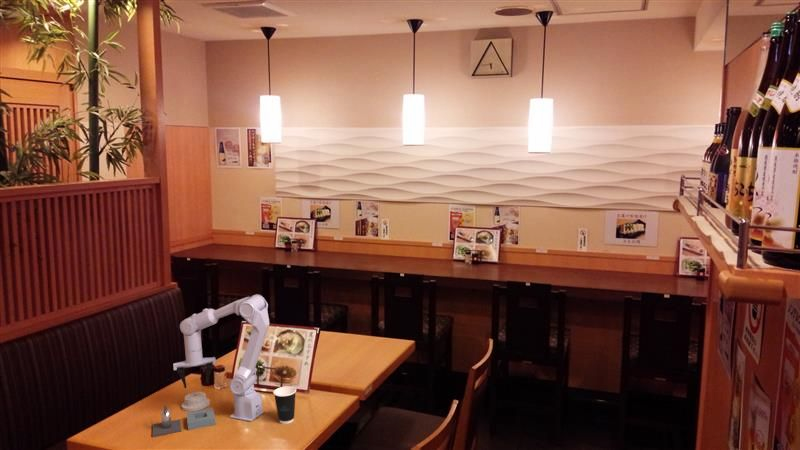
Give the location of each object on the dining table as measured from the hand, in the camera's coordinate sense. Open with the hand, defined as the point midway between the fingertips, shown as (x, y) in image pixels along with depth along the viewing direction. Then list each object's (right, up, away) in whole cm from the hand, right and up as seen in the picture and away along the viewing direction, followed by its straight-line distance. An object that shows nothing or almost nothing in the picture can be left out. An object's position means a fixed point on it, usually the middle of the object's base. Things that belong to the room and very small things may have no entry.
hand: (196, 385), depth 216 cm
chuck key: (-7, -12, -11) cm, 17 cm away
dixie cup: (+34, -11, -8) cm, 37 cm away
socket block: (+4, -11, -7) cm, 14 cm away
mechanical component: (-3, -10, +7) cm, 13 cm away
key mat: (-7, -12, -11) cm, 18 cm away
